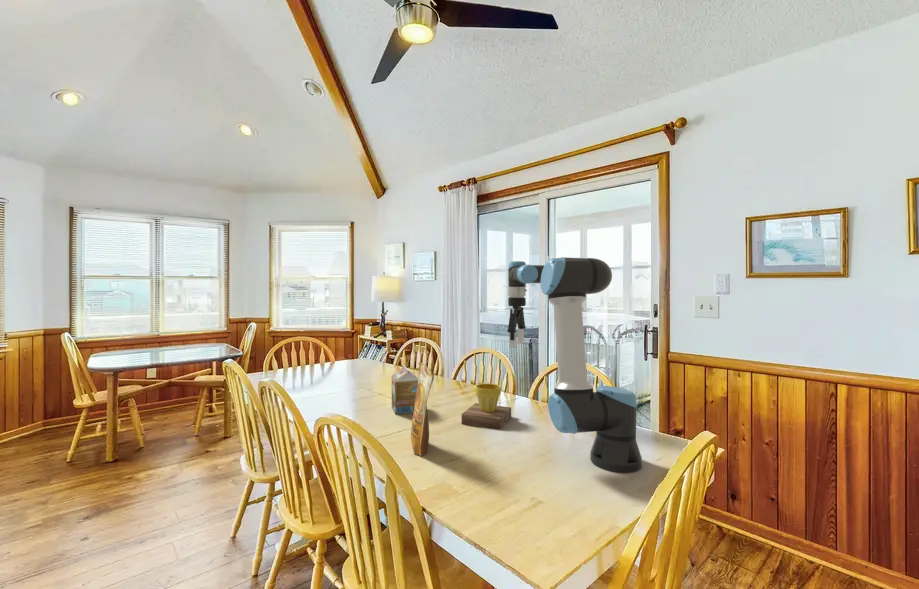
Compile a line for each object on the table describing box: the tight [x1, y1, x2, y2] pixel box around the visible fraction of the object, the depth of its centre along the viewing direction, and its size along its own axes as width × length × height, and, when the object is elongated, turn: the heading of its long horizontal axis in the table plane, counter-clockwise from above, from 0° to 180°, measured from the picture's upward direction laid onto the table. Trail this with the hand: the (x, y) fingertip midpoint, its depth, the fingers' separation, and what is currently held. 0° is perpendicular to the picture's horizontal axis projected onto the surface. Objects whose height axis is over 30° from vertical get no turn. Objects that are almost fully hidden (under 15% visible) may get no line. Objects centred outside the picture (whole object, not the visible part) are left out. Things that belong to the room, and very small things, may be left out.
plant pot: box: [475, 382, 502, 412], centre depth 173 cm, size 10×10×10 cm
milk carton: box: [391, 364, 418, 415], centre depth 186 cm, size 11×11×19 cm
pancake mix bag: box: [410, 361, 435, 457], centre depth 144 cm, size 7×19×28 cm, turn 11°
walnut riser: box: [461, 402, 512, 430], centre depth 172 cm, size 16×16×4 cm
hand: (516, 345), depth 184 cm, fingers open, 13 cm apart
